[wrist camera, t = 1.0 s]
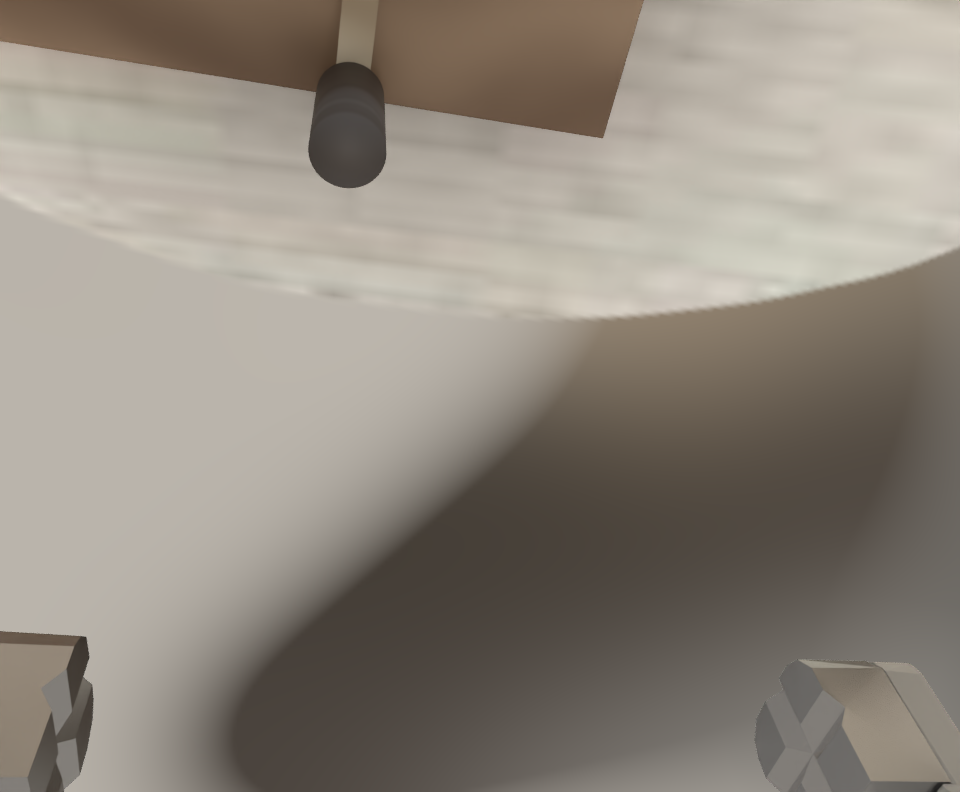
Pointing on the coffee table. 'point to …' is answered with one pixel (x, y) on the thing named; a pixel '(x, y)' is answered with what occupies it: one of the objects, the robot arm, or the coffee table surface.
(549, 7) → the board
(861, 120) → the coffee table surface
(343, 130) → the tuning crank
